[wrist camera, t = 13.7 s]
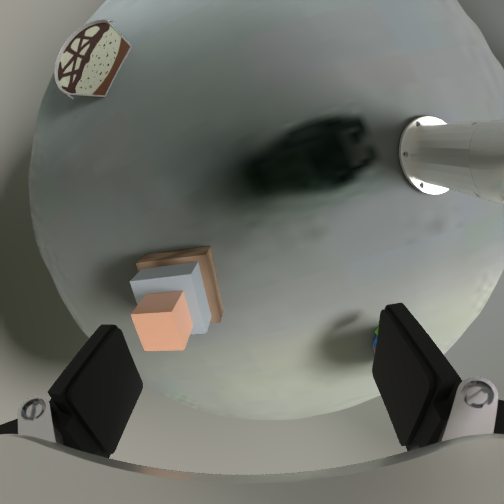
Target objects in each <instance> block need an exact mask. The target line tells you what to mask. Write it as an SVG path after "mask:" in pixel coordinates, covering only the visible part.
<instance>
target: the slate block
mask: <svg viewBox="0 0 504 504" xmlns="http://www.w3.org/2000/svg"><path fill="white" fill-rule="evenodd" d="M130 284H131V287H132V290H133V293H134V296H135V299H136V302H137V305H138V304H139V303H140V302H141V300H142V299H143V298H144V296H145V295H146V294H154V293H165V292H175V291H184V295H185V298H186V302H187V306H188V309H189V313H190V317H191V320H192V324H193V328H192V331H191V333H190V334H204V333H207V330H208V327H209V323H210V320H211V317H212V316H211V313H210V309H209V304H208V300H207V296H206V292H205V288H204V284H203V280H202V275H201V271H200V267H199V262H191V263H184V264H176V265H168V266H161V267H153V268H146V269H141V270H140V271H139V272H138V273H137V274H136V275H135V276H134V277H133V278H132V279H131V280H130Z"/></svg>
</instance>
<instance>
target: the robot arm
mask: <svg viewBox="0 0 504 504" xmlns="http://www.w3.org/2000/svg"><path fill="white" fill-rule="evenodd" d="M403 153H404V155H403ZM399 159H400V164H401V167H402V170H403V172H404V174H405V176H406V178H407V179H408V181H409V182H410V183H411V184H412V185H413V186H414V187H415V188H416V189H418V190H420V191H421V192H424V193H427V194H432V195H436V194H441V193H444V192H446V191H448V190H449V189H451V190H454V191H458V192H462V193H465V194H469V195H472V196H476V197H479V198H482V199H486V200H489V201H493V202H496V203H500V204H504V120H494V121H475V122H461V123H449V124H446V123H445V122H444V121H442V120H441V119H438V118H436V117H432V116H423V117H419V118H416V119H414V120H413V121H411V122H410V123H409V124H408V125H407V126H406V127H405V129H404V131H403V133H402V135H401V138H400V143H399ZM419 185H420V186H419ZM372 372H373V377H374V380H375V382H376V384H377V387H378V389H379V392H380V394H381V396H382V399H383V401H384V404H385V406H386V408H387V411H388V413H389V416H390V419H391V421H392V424H393V426H394V429H395V432H396V434H397V437H398V439H399V442H400V444H401V445H402V446H406V448H407V452H404V453H401V454H397V455H393V456H389V457H386V458H381V459H377V460H372V461H368V462H363V463H358V464H353V465H348V466H343V467H337V468H330V469H324V470H316V471H308V472H298V473H285V474H265V475H223V474H222V475H221V474H204V473H192V472H182V471H174V470H166V469H159V468H153V467H147V466H141V465H136V464H131V463H126V462H122V461H117V460H113V459H109V457H110V455H111V454H113V453H114V452H115V450H116V447H117V445H118V443H119V440H120V438H121V436H122V434H123V431H124V429H125V427H126V424H127V422H128V420H129V418H130V415H131V413H132V411H133V409H134V407H135V404H136V402H137V400H138V398H139V395H140V393H141V391H142V388H143V383H142V380H141V378H140V375H139V373H138V371H137V368H136V366H135V364H134V361H133V359H132V356H131V354H130V351H129V349H128V346H127V344H126V341H125V338H124V336H123V333H122V331H121V329H118V327H117V326H116V325H101V326H100V327H99V328H98V329H97V330H96V331H95V332H94V334H93V335H92V336H91V337H90V339H89V340H88V341H87V342H86V344H85V345H84V346H83V347H82V348H81V350H80V351H79V352H78V353H77V355H76V356H75V357H74V358H73V360H72V361H71V362H70V363H69V365H68V366H67V367H66V369H65V370H64V371H63V372H62V374H61V375H60V376H59V378H58V379H57V380H56V381H55V383H54V384H53V386H52V387H51V388H50V390H49V391H48V393H49V395H50V397H51V400H50V401H48V399H47V398H46V397H44V396H32V397H30V398H28V399H27V400H25V401H24V402H23V403H22V404H21V406H20V408H19V409H18V419H16V420H13V421H10V422H7V423H5V424H2V425H0V504H504V401H503V400H499V399H498V391H497V389H496V387H495V386H494V385H493V383H492V382H490V381H488V380H487V379H484V378H481V377H471V378H467V379H465V380H463V381H462V380H461V378H460V377H459V375H458V374H457V373H456V371H455V370H454V369H453V367H452V366H451V365H450V363H449V362H448V360H447V359H446V357H445V356H444V355H443V353H442V352H441V351H440V349H439V348H438V347H437V346H436V344H435V343H434V342H433V340H432V339H431V338H430V336H429V335H428V334H427V333H426V331H425V330H424V329H423V328H422V326H421V325H420V324H419V323H418V321H417V320H416V319H415V318H414V316H413V315H412V314H411V313H410V311H409V310H408V309H407V308H406V307H405V305H404V304H403V303H396V304H390V305H387V306H386V307H385V310H382V311H381V313H380V321H379V329H378V336H377V343H376V350H375V356H374V362H373V368H372Z"/></svg>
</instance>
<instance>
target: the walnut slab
mask: <svg viewBox="0 0 504 504" xmlns="http://www.w3.org/2000/svg"><path fill="white" fill-rule="evenodd" d="M191 262H199V267H200V271H201V275H202V280H203V284H204V288H205V292H206V296H207V300H208V304H209V309H210V313H211V316H212V317H211V320H210V323H218V322H220V321H221V317H222V313H223V307H222V302H221V297H220V292H219V287H218V282H217V277H216V272H215V267H214V262H213V257H212V252H211V246H209V247H201V248H193V249H185V250H178V251H170V252H163V253H155V254H148V255H144V256H143V257H142V258H141V259H140V260H139V261H138V262H137V263H136V266H137V270H138V272H139V271H140V270H141V269H146V268H153V267H161V266H168V265H176V264H184V263H191Z"/></svg>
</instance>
